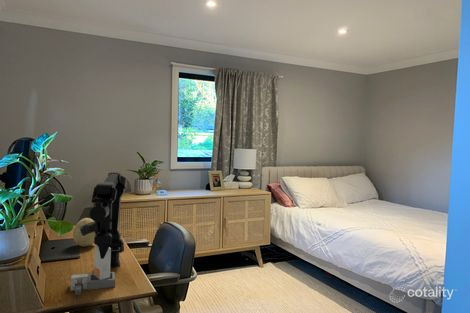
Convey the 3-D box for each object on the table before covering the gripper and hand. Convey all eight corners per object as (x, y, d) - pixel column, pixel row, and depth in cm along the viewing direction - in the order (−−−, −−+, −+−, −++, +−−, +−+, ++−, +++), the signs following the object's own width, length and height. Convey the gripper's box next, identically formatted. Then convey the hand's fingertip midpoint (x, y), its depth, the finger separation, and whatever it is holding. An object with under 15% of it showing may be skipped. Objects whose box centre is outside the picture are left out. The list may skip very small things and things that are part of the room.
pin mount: (71, 284, 134) (72, 273, 134) (87, 282, 136) (88, 272, 136) (70, 290, 129) (70, 279, 128) (87, 289, 131) (87, 278, 130)
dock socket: (88, 281, 138) (88, 273, 138) (114, 278, 141) (114, 271, 141) (87, 289, 130) (87, 281, 130) (114, 286, 134) (115, 279, 134)
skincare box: (93, 275, 136) (94, 245, 136) (104, 272, 139) (105, 244, 139) (99, 280, 132) (100, 249, 132) (110, 277, 135) (111, 247, 134)
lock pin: (77, 282, 135) (77, 275, 135) (82, 282, 136) (83, 275, 136) (74, 295, 125) (75, 287, 125) (80, 294, 126) (81, 286, 126)
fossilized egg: (103, 244, 186) (104, 217, 185) (87, 251, 173) (88, 221, 173) (83, 241, 189) (84, 214, 188) (66, 247, 177) (67, 219, 176)
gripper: (83, 211, 140) (81, 248, 141) (79, 221, 123) (78, 264, 123) (111, 210, 144) (110, 247, 145) (112, 220, 127) (111, 262, 127)
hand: (102, 254), depth 135 cm, fingers open, 9 cm apart
